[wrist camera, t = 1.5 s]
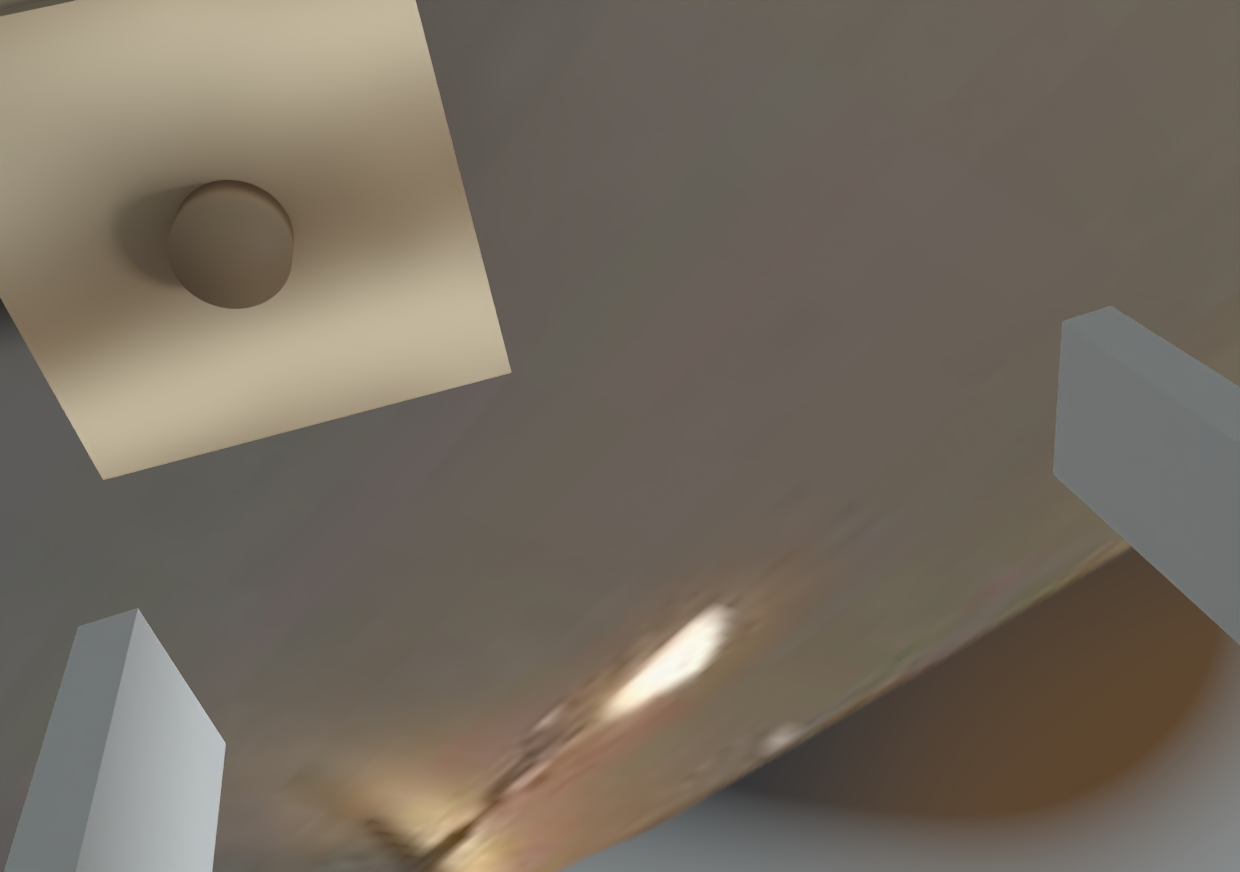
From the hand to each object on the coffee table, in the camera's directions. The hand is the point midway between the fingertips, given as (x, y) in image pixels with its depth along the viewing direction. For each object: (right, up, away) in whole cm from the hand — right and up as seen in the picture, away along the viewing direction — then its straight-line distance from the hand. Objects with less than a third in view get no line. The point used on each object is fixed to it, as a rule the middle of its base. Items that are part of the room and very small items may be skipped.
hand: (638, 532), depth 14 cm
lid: (-10, +8, +11) cm, 16 cm away
